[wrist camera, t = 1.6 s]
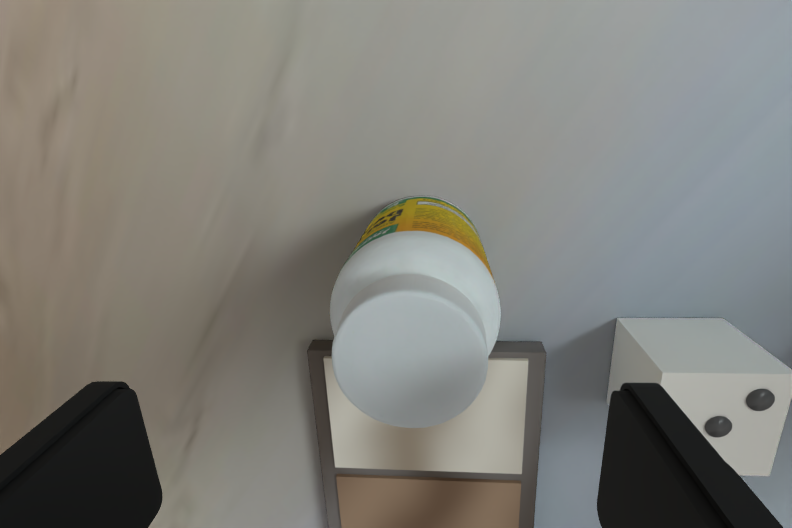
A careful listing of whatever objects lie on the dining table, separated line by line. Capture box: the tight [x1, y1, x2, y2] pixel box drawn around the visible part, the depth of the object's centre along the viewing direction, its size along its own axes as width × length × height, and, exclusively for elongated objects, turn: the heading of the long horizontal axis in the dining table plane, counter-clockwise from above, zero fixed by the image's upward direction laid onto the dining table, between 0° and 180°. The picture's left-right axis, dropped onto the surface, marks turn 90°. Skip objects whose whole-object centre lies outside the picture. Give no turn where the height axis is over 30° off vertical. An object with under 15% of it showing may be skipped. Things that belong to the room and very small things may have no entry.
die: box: [606, 318, 792, 476], centre depth 19 cm, size 4×4×5 cm
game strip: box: [307, 340, 546, 528], centre depth 25 cm, size 11×21×1 cm, turn 2°
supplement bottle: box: [330, 196, 501, 428], centre depth 16 cm, size 5×5×10 cm
